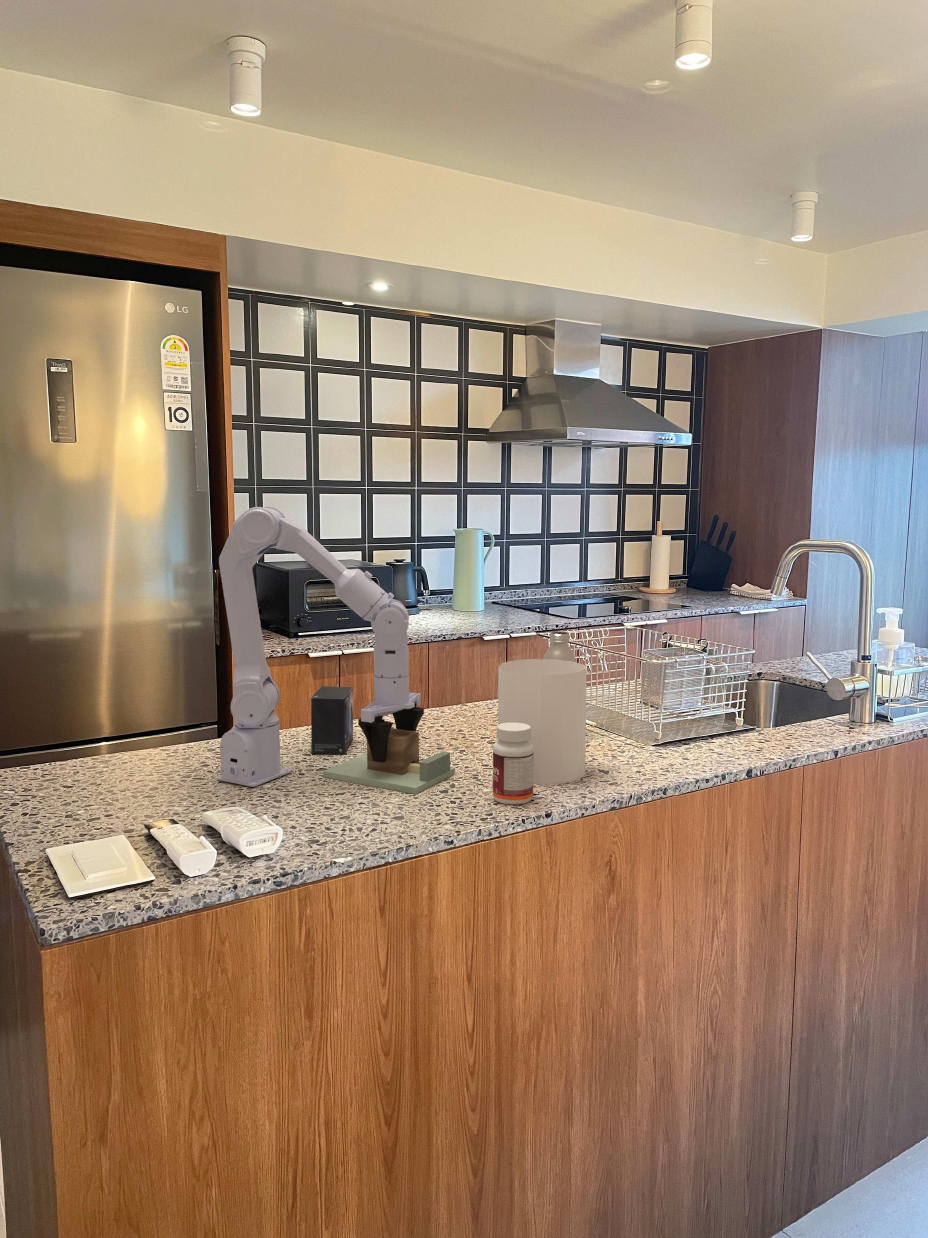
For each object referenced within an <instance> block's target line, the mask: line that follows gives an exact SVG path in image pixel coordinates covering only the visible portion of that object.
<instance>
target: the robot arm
mask: <svg viewBox="0 0 928 1238" xmlns="http://www.w3.org/2000/svg"><path fill="white" fill-rule="evenodd" d="M273 547H275V549H276V550H281V551H287V552H292V553H296V554H297V555H298V556H299V557H300V558H302V559H303V560H304V561H305V562H307V563H308V564H310V565H311V566H312V567H313V568H314V569H315V570H317V571H318V572H319V573H320V574H321V575H323V576H324V577H325V578H327V579H328V581H331V583H333V584H334V590H335V596H336V597H337V598H338V599H339V600H340V601H342V602H343V603H344V604H345V605H346V606H347V607H349V608H350V609H351V610H352V612H354V613H355V614H356V615H358V616H359V617H360V618H361V619H362V620H364V621H365V622H366V621H367V622H370V625H371V629H372V631H373V633H374V647H373V690H374V692H373V693H374V695H373V697H374V698H373V699H374V700H373V701H372V702H371V703H370V704H368V705H367V706H366V707H363V708H361V709H360V718H358V726H359V728H360V729H361V731H362V733H363V734H364V737H365V739H366V742H367V741H368V745H369V748H370V751H371V755H372V759H373V761H375V762H381V763H384V762H385V761H386V757H387V744H388V737H389V733H390V730H391V728H393V725H394V723H395V729H401V730H408V731H415V732H417V728H418V726H419V724H420V721H421V719H422V717H423V716H424V714H425V709H424V708H423V707H421V706H420V705H421V693H419V692H418V693H417V692H410V675H409V674H410V662H409V660H410V653H409V652H410V649H409V646H408V643H409V636H408V629H409V625H410V624H409V623H410V622H409V621H410V615H409V612H408V609H407V608H406V606H405V605H404V604H403V603H402V601H400V600H397V599H394V597H395V595H394V594H393V593H392V592H386V591H385V590H384V589H383V588H382V587H380V586H379V584H377V583H376V582H375V581H374V580H372V577H373V574H372V573H371V572H370V571H368V570H365V572H364V571H363V570H361V569H360V568H347V567H346V566H345V565H344V564H343V563H342V562H340V561H339V560H338V559H337V558H336V557H335V556H334V555H333V554H332V553H331V552H330V551H329V550H327V548H325V547H324V546H323V545H322V544H321V543H320V542H319V540H317V539H316V537H314V536H313V535H312V534H310V533H309V532H308V531H307V530H306V529H305V528H303V527H302V526H301V525H300V524H298V523H297V522H296V521H294V520H293V519H291V518H290V517H286V516H285V515H284V513H283V512H282V511H281V510H279V509H278V508H275V507H271V506H264V507H261V506H255V507H251V508H248V509H246V510H245V511H244V512H243V513H241V514H240V515H239V517H237V518H236V519H235V520H234V522H232V524H231V528H230V533H229V534H228V537H227V539H226V541H225V544H224V546H223V548H222V551H221V553H220V555H219V557H218V565H219V566H218V567H219V572H220V578H221V583H222V584H221V585H222V591H223V597H224V603H225V610H226V617H227V623H228V629H229V637H230V643H231V650H232V655H233V661H234V662H233V663H234V675H233V680H232V681H233V682H232V686H233V687H232V688H233V696H232V699H231V701H230V713H231V715H232V717H233V718H234V720H233V726H232V728H231V729H230V730H228V731H227V732H225V733H223V735H222V736H221V739H220V742H219V752H220V753H219V755H220V775H219V776H218V777H217V780H218V781H221V782H227V783H231V784H236V785H237V784H238V785H241V786H242V785H243V786H247V787H250V788H251V787H252V788H253V787H257V786H259V785H262V784H265V783H267V782H269V781H272V780H274V779H275V780H276V779H278V778H280V777H282V776H285V775H288V774H291V773H292V772H293V770H292V768H288V767H283V766H281V747H280V746H281V745H280V743H281V742H280V741H281V740H280V718H279V717H278V715H277V713H276V711H275V709H276V708H277V706H278V705H279V703H280V698H281V693H280V689H279V687H278V685H277V684H276V683H275V681H274V680H273V678H272V677H273V676H272V672H271V668H270V666H269V665H268V663H267V660H266V653H265V652H266V651H265V646H264V645H265V644H264V638H263V632H262V626H261V620H260V613H259V612H260V611H259V607H258V600H257V599H258V598H257V591H256V585H255V578H254V573H253V568H254V566H255V564H256V563H257V562H258V561H259V560H260V559H261V557H263V555H264V554H265V552H267V551H268V550H270V549H272V548H273ZM391 714H392V717H393V720H394V722H393V721H385V718H384V717H385V716H388V715H391Z"/></svg>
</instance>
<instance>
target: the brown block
mask: <svg viewBox="0 0 928 1238" xmlns="http://www.w3.org/2000/svg"><path fill="white" fill-rule="evenodd" d="M366 753H367V769H370V770H376V771H382V772H387V773H393V774H399V775H404V774H406V773H407V764H408V763H415V764H419V762H420V732H419V731H416V732H415V731H408V730H401V729H396V728H393V727H391V730H390V733H389V737H388V744H387V757H386V761H385V762H384V763H381V762H375V761H373V759H372V755H371V751H370V748H369V745H368V741H367V740H366Z"/></svg>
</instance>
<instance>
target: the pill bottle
mask: <svg viewBox="0 0 928 1238" xmlns="http://www.w3.org/2000/svg"><path fill="white" fill-rule="evenodd" d="M495 737H496V739H497V741H496V742H495V743H494V744H493V745H492V797H493V800H495V801H496V802H497V803H500V804H504V805H523V804H527V803H529V802H531V801H532V799H533V798H534V784H533V766H534V764H533V763H534V748H533V745H532V744H531V743H530V742H529V741H527V740H529V739H530V738H531V727H530V726H529V725H527V724H524V723H502V724H499V725H498V724H497V725H496V736H495ZM498 739H499V741H498Z"/></svg>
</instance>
